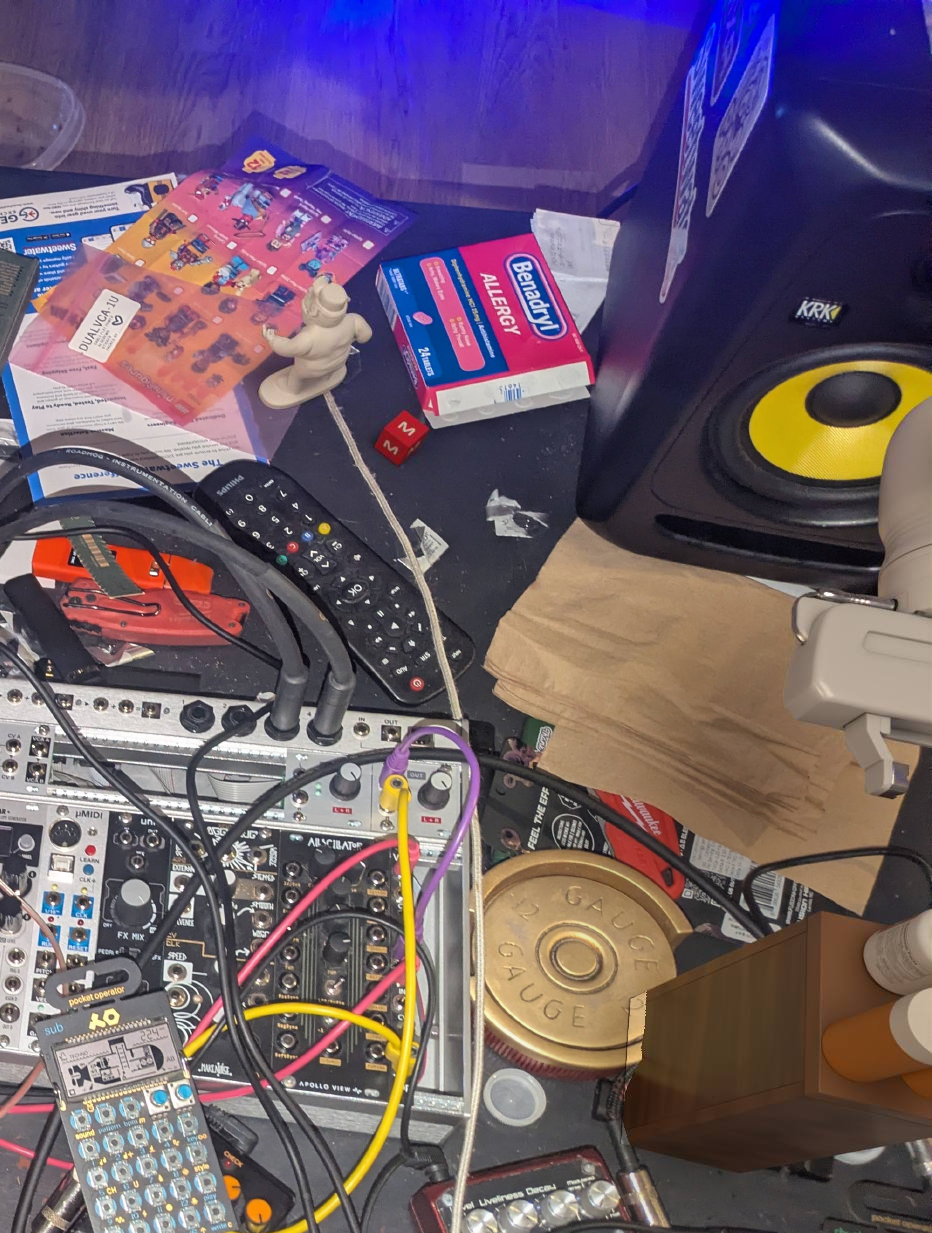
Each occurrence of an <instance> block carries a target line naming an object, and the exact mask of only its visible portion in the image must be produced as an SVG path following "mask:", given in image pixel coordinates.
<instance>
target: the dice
mask: <svg viewBox="0 0 932 1233" xmlns="http://www.w3.org/2000/svg"><path fill="white" fill-rule="evenodd" d="M429 431H430V427H428V426H427V425H425V424H424V423H422V422H421V421H420V420H419V419H418V418H417V417H415V416H414V415H412V414H411V413H409V412H408V411H406V410H405V409H404V410H403V411H402V412H400V413H399V415H397V416H396V417H395V418H394V419H392V420H391V421H390V422H389V423H388V424H387V425H385V427H383V429H382V431H381V433H380V435H379V437H378V438H377V441H376V443H375V444H374V446H373V447H374V449H375V450H377V451H378V452H379V453H380V454H382V455H383V456H384V457H385V458H387V459H388V460H390V461H391V462H392V463H393V464H395V465H396V466H397V467H400V465H402V464H403V463H404V462H405V461H406V460H407V459H408V458H410V457H411V456H412V455H413V454H415V452H416V451H418V450H419V448H420V447H421V445H422V443H423V441H424V440H425V438H426V436H427V435H428V433H429Z"/></svg>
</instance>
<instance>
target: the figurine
mask: <svg viewBox="0 0 932 1233" xmlns="http://www.w3.org/2000/svg"><path fill="white" fill-rule="evenodd" d="M350 302H351V298H350V296H348V294H347V291H346V290H345V288H344V287H343V286H341V284H339V283H338V282H329V280H328V276H327V275H325V274H323V275H321V276H319V277H318V278H316V279H315V280H314V281H313V283H312V285H310V286H309V287H308V288H307V293H306V294H305V295H304V297H302V299H301V302H300V307H301V315H300V316H301V321H302V322H303V323H304V325H305V326H302V329H301V331H300V332H299V333H298V334H296V335H295V336H293V337H292V338H288V337H283V336H281V335H276V334H275V329H273V328H268V329H267V325H266V324H265V323H263V324H262V328H261V331H262V337H263V338H264V339H265V340H266V342H267V343H268V346H269V348H270V349H271V350H272V351H273V352H274V353H275V354H277V355H278V356H281V357H284V358H294V363H293V364H291V365H289V366H287V367H285V368H282V369H280V370H278V371H275V372H274V373H272V374H270V375H268V376H267V377H266V378H265V379H264V380H263V381H262V382H261V384H260V386H259V389H258V391H257V393H258V397H259V400H260V401H261V402H262V403H263V405H264V406H266V407H267V408H269V409H272V410H277V411H278V410H287V409H290V408H294V407H296V406H299V405H302V404H304V403H306V402H308V401H311V400H312V399H314V398H317V397H320V396H322V395H324V394H326V393H328V392H329V391H332V390H333V389H335V388H336V387H338V386H339V385H340V384H342V382H343V381H344V379H345V377H346V375H347V371H348V370H347V366H346V362H347V360H348V358H349V357H350V352H351V349H352V344H353V343H354V342H357V343H358V344H366V343H367V342H369V341H370V339H371V338H372V337H373V329H372V328H371V326H370V325H369V323H368V322H367V321H366V320H365V318H364V317H363V316H362V315H360V314H358V313H356V312H348V313H347V311H348V303H350Z"/></svg>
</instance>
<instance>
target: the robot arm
mask: <svg viewBox="0 0 932 1233" xmlns="http://www.w3.org/2000/svg"><path fill="white" fill-rule="evenodd" d="M878 491H879V493H878V510H877V529H878V535H879V538H880V540H881V542H882V544H883V547H884V550H885V554H884V559H883V562H882V564H881V566H880V569H879V572H878V578H877V596H875V595H869V594H861V593H859V594H858V593H852V592H846V591H844V590H842V589H838V588H833V587H820V588H818V589H817V590H816V591H809V592H805V593H803V594H801V595H800V596H798V597H797V598H796V599H795V600H794V602H793V604H792V606H791V610H790V631H791V634H792V637H793V638H794V640H793V644H792V647H791V650H790V654H789V657H788V661H787V666H786V671H785V678H784V685H783V694H782V703H783V707H785V709H786V711H787V712H788V713H789V714H790V716H791V717H792V718H793V719H794V720H795V721H797V722H801V723H805V724H809V725H815V726H818V727H819V726H820V727H825V728H830V729H835V730H839V731H844V744H845V746H846V748H847V749H848V751H849V752H850V754H851V756H852V757H853V758H854V759H855V761H856V762H857V764H858V765H859V767H860V768H861V770H862V771H864V792H865V795H869V796H874V797H879V798H884V799H889V800H895V799H897V798H898V796H903V795H905V794H906V793H907V792H908V790H909V787H910V781H909V779H908V776H910V765H909V764H906V763H901V762H898V761H895V758H894V757H893V755H892V753H891V751H890V749H889V747H888V746H887V744H886V742H885V740H884V739H886V740H888V741H889V740H890V741H894V742H899V743H904V744H909V745H914V746H919V747H924V748H928V749H932V395H931V396H929V397H926V398H925V399H923V400H922V401H920V402H919V403H918V404H917V405H915V406H913V408H912V409H910V411H908V412H907V413H906V414H905V415H904V417H902V419H901V420H900V422H899V423H898V424H897V426H896V427H895V429H894V431H893V433H892V434H891V436H890V438H889V441H888V443H887V445H886V449H885V453H884V456H883V462H882V467H881V472H880V480H879V490H878Z"/></svg>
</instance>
